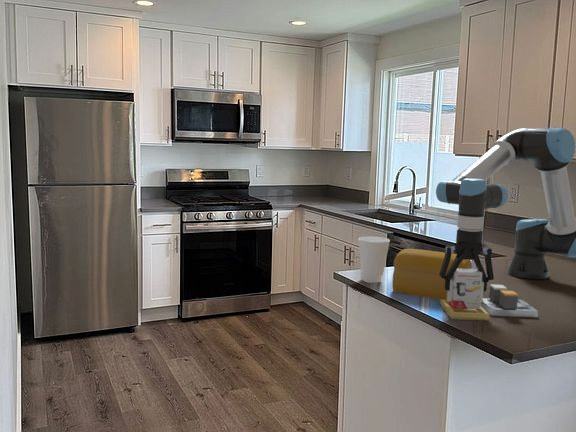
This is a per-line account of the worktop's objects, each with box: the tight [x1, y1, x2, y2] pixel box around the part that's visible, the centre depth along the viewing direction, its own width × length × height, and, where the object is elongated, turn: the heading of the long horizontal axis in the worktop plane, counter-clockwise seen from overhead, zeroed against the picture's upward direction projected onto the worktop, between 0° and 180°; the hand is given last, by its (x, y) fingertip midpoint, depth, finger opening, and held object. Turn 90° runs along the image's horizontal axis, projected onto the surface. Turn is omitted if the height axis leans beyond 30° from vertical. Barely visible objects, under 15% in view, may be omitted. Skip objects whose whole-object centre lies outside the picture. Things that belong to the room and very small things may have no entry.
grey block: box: [499, 290, 519, 309], centre depth 167 cm, size 4×4×5 cm
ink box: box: [449, 268, 482, 309], centre depth 166 cm, size 9×5×12 cm, turn 90°
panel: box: [480, 297, 539, 318], centre depth 171 cm, size 14×12×2 cm
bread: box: [391, 248, 473, 301], centre depth 187 cm, size 24×13×15 cm, turn 61°
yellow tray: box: [439, 299, 490, 322], centre depth 167 cm, size 11×14×2 cm
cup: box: [357, 236, 391, 284], centre depth 202 cm, size 12×12×16 cm
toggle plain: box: [488, 283, 508, 302], centre depth 174 cm, size 4×4×5 cm
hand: (464, 300), depth 167 cm, fingers open, 9 cm apart
